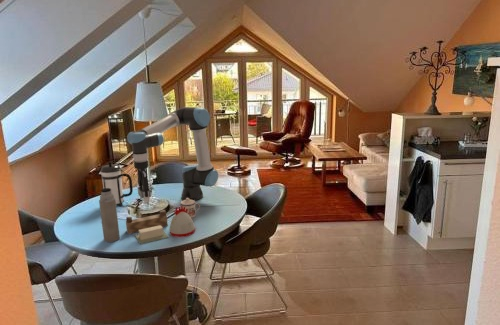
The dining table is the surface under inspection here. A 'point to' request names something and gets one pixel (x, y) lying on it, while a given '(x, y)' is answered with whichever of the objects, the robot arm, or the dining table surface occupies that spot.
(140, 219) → the hand plane
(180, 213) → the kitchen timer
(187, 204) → the teacup with lid
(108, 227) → the thermos bottle
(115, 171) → the coffee press
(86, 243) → the dining table surface
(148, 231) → the butter dish
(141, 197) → the lever cap
